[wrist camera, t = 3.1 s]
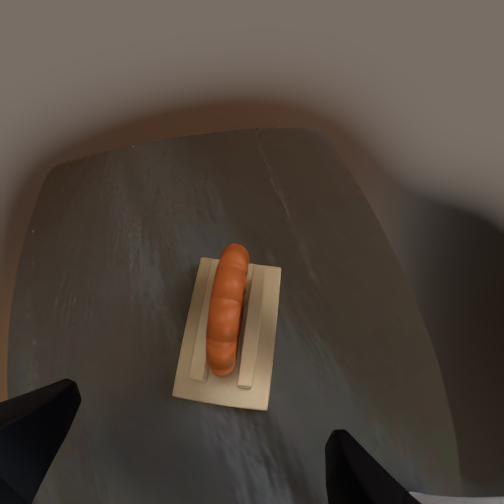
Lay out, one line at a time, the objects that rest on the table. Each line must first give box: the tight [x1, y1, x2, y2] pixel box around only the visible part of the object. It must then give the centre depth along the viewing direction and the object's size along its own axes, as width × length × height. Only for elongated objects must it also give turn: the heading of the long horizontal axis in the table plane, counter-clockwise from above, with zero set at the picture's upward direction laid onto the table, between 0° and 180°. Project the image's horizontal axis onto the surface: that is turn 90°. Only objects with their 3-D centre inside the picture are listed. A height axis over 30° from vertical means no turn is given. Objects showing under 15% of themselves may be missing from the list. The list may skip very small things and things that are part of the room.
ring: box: [206, 244, 249, 377], centre depth 17 cm, size 8×2×8 cm, turn 173°
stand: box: [172, 257, 281, 411], centre depth 20 cm, size 12×7×4 cm, turn 173°
